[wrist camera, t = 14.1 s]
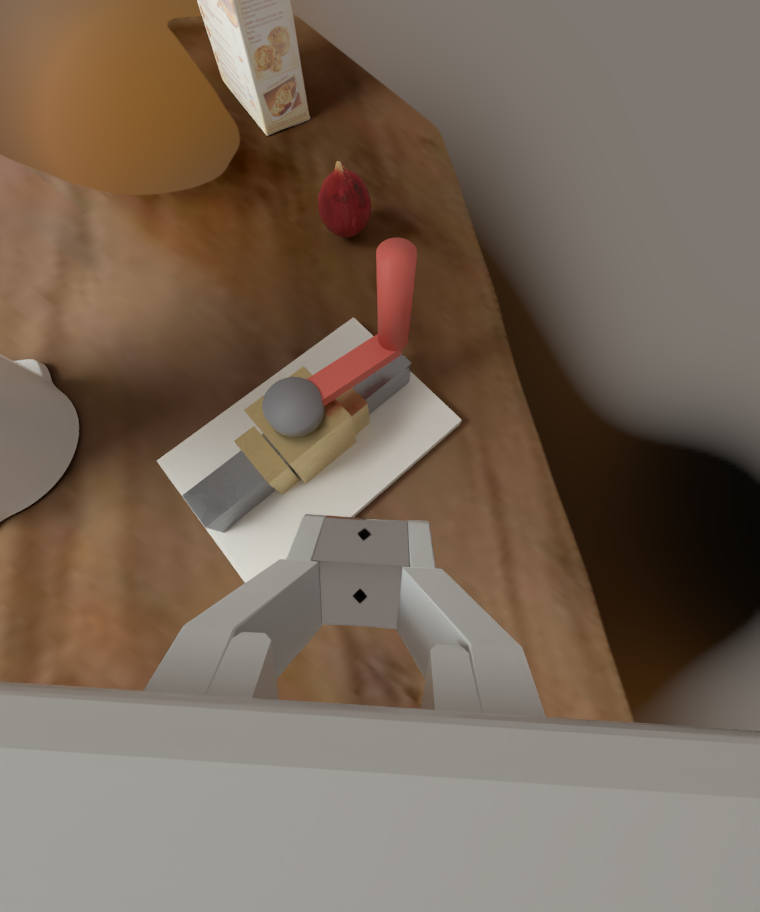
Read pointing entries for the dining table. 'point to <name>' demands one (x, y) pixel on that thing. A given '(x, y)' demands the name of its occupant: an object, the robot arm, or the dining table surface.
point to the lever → (302, 400)
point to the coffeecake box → (259, 58)
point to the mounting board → (338, 485)
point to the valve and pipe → (290, 449)
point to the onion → (344, 202)
